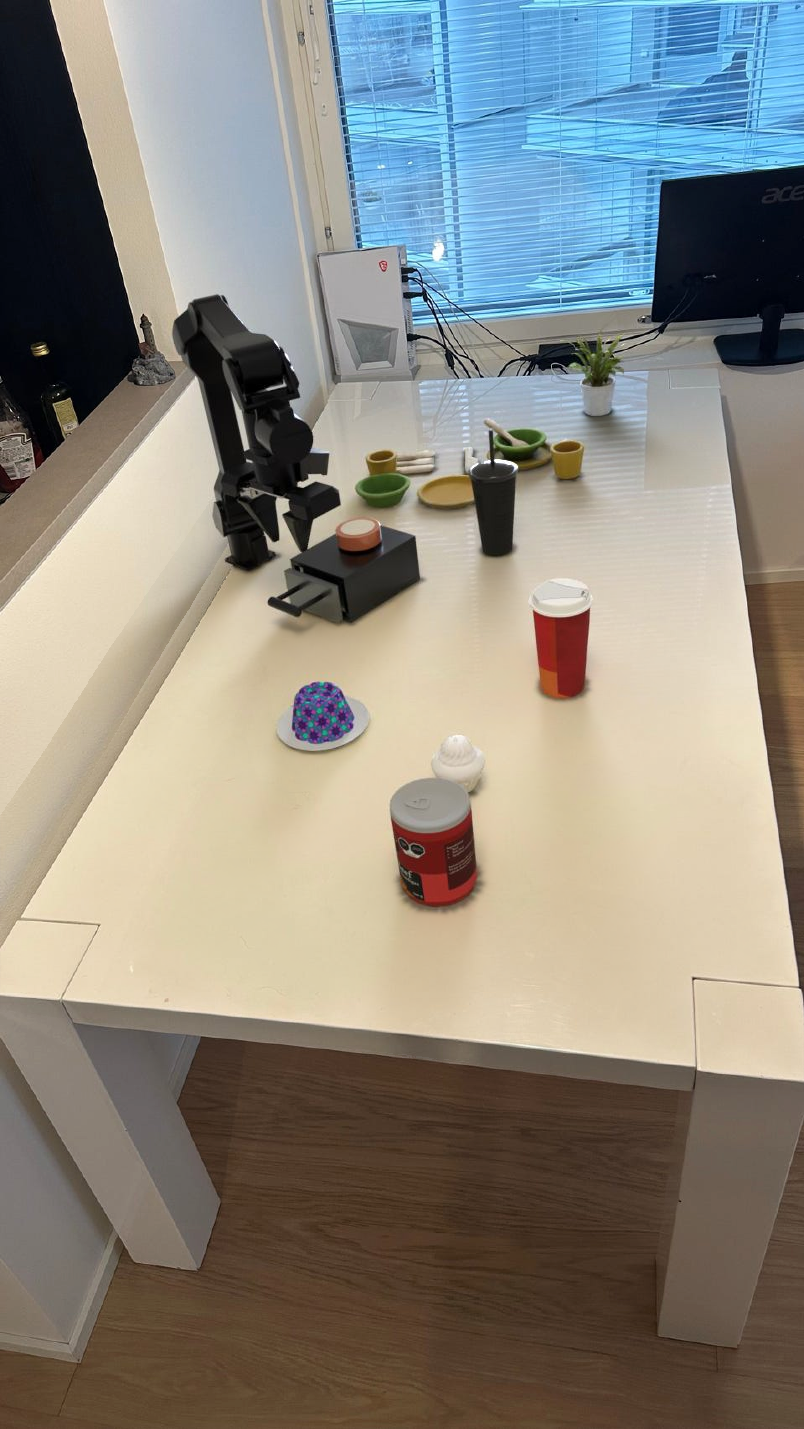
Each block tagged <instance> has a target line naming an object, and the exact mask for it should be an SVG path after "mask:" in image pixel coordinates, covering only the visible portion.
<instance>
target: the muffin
mask: <svg viewBox="0 0 804 1429" xmlns="http://www.w3.org/2000/svg"><path fill="white" fill-rule="evenodd" d="M430 761H431V762H430V766H431V770H432V772H433V774H434V776H435V778H444V779H448V780H451V781H454V782H456V783H458V784H459V785H461V786H462V787H463V788H464V789H465V790H466V791H467V793H468V794H469V793H471V792H472V791H473V789H474V788H475V787H476V785H477V784H478V781H479V780H480V778H481V776H482V775H483V770H484V769H485V766H486V759H485V756H484V753H483V752H482V750H480V749H479V748H478V747H477V746H475V745H474V744H473V743H472V741H471V740H470V738H468V737H467V736H464V735H460V734H456V735H455V734H452V735H451V736H448V737H447V738H445V739H443V742H442V743H441V744H440V748H439V749H438V750H437V751H436V752H435V753H434V755H433V756H432V758H431V760H430Z"/></svg>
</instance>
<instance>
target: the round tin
mask: <svg viewBox="0 0 804 1429" xmlns="http://www.w3.org/2000/svg"><path fill="white" fill-rule="evenodd" d="M380 525H381V524H380V522H379V521H378V520H376V519H374V518H370V517H357V518H351V519H348V520H345V521H342V522H341V523H339V524H338V525H337V526H336V527H335V530H334V531H335V534H336V538H337V544H338V546H339V547H340V548H341V549H344V550H347V551H361V550H366V549H370V548H372V547H374V546H376V545H378V544H379V543H380V542H381V539H382V536H381V529H380Z"/></svg>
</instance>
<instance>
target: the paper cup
mask: <svg viewBox="0 0 804 1429" xmlns="http://www.w3.org/2000/svg"><path fill="white" fill-rule="evenodd" d="M527 601H528V603H527V604H528V605H529V606H530V608H531V609H532V615H533V617H532V618H533V626H534V636H535V645H536V655H537V665H538V674H539V682H540V688H541V690H542V692H543V693H544V694H545V695H547V696H549V697H551V698H553V699H554V698H555V699H569V698H570V699H571V698H573V697H576V696H578V695H579V694H581V693H582V692H583V691H584V689H585V682H586V672H587V659H588V646H589V645H588V644H589V633H590V621H591V607H592V605H593V604H594V598H593V595H592V594H591V592H590V589H589V587H588V586H587V584H585V583H584V582H583V581H580V580H576V579H573V578H565V577H563V578H562V577H561V578H560V577H559V578H553V579H548V580H546V581H543V582H541V583H539V584H538V585H537V586H536V587H535V589H533V591H532V592H531V594H530V596H529V598H528V600H527Z"/></svg>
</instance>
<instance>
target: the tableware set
mask: <svg viewBox="0 0 804 1429" xmlns="http://www.w3.org/2000/svg"><path fill="white" fill-rule="evenodd" d="M483 424H484V426H486V427H487V428H488V429H493V433H494V432H495V433H496V435H495V436H493V439H494V456H495V459H499V460H504V461H509V462H512V463H514V464H516V465H517V467H518V471H523V470H530V469H534V468H537V467H540V466H542V465H544V464H546V463H548V462H549V461H550V459H551V461H552V466H553V471H554V475H555V477H556V478H558V479H563V480H570V479H575V478H577V477H579V476H580V474H581V472H582V467H583V466H582V464H583V457H584V451H585V445H584V443H583V442H581V441H578V440H571V439H569V438H564V439H562V441H559V442H556V443H553V444H552V443H550V442H548V441H547V434H546V433H545V432H543V431H542V430H539V429H536V428H528V427H524V428H523V427H521V428H513V429H508V430H505V429H504V428H503V427H502V426H501V425H499V423H497V422H495V420H493V419H492V418H489V417H488V418H487V417H486V418H485V419H484V421H483ZM473 455H474V447H472V446H468V447H465V448H464V463H465V464H464V473H465V474H452V475H444V476H442V477H437V478H433V479H431V480H429V481H427V482H424V483H423V484H422V485H421V486H419V487H418V489H417V491H416V495H417V496H416V497H417V498H418V499H419V500H420V501H421V502H422V503H424V504H425V505H426V506H429V507H432V508H436V509H458V508H463V507H467V506H471V505H473V504H475V501H474V495H473V489H472V483H471V478H470V477H469V474H468V471H469V469H470V468H471V467H472V466H474V465H476V464H478V463H479V459H478V457H477V458H476V457H473ZM435 456H436V452H435V451H433V450H427V449H426V450H420V451H417V452H414V453H409V454H398V453H397V451H395V450H393V449H379V450H374V451H371V452H369V453H368V454H367V455H366V456H364V457H365V458H364V460H365V462H366V466H367V469H368V472H369V476H367V477H365V478H363V479H361V480H359V481H358V482H357V483H356V484H355V487H354V490H355V492H356V494H357V495H358V496H360V497H361V499H363V500H364V502H366V504H367V505H368V506H369V507H372V508H374V509H376V508H377V509H386V508H390V507H391V508H392V507H394V506H396V505H398V504H399V503H400V502H402V500H403V498H404V496H405V494H406V492H407V490H408V489H410V486H411V480H410V478H409V477H408V476H406V475H409V474H419V473H420V474H421V473H430V472H433V471H434V469H435V464H434V461H435V458H434V457H435ZM486 459H487V460H490V449H488V450H487V453H486Z"/></svg>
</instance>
